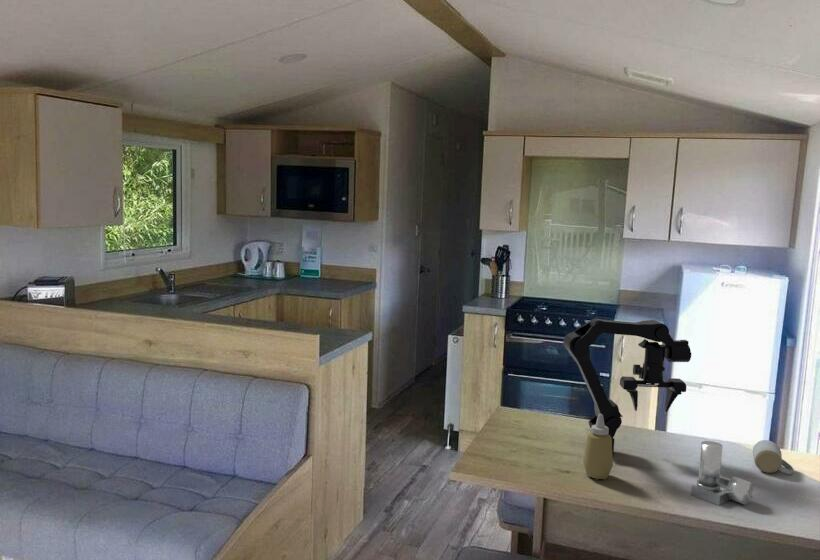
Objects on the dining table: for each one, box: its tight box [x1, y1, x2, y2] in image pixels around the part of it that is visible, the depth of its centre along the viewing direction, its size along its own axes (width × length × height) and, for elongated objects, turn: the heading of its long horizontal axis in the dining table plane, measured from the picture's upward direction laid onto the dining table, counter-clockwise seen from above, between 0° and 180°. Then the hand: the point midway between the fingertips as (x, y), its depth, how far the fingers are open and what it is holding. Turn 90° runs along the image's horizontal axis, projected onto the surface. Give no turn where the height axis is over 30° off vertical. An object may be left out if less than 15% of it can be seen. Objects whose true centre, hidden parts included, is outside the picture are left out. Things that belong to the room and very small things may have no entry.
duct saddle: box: [690, 475, 754, 506], centre depth 180 cm, size 12×13×6 cm
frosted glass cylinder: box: [696, 440, 723, 493], centre depth 183 cm, size 6×6×13 cm
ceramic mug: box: [752, 439, 794, 475], centre depth 198 cm, size 11×8×8 cm
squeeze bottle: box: [582, 414, 614, 480], centre depth 190 cm, size 8×8×18 cm
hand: (650, 411), depth 209 cm, fingers open, 9 cm apart
